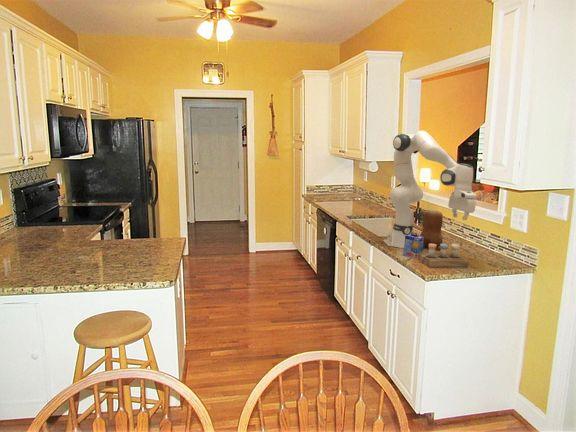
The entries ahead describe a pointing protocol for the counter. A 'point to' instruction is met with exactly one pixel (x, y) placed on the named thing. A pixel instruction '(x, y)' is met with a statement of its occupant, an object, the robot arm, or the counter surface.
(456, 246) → the plunger cream
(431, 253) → the plunger terracotta
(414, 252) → the ink cartridge box
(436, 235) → the brown rounded block
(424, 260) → the wooden board with holes
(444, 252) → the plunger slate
